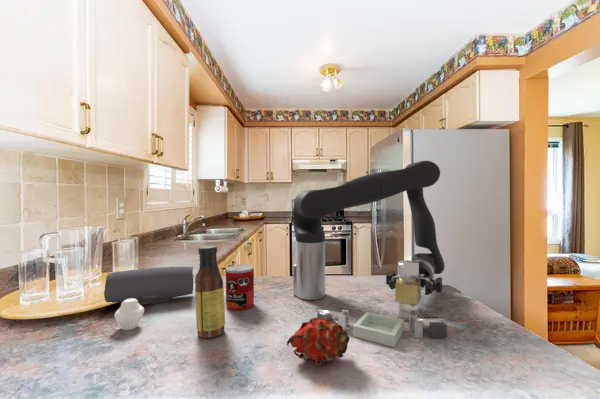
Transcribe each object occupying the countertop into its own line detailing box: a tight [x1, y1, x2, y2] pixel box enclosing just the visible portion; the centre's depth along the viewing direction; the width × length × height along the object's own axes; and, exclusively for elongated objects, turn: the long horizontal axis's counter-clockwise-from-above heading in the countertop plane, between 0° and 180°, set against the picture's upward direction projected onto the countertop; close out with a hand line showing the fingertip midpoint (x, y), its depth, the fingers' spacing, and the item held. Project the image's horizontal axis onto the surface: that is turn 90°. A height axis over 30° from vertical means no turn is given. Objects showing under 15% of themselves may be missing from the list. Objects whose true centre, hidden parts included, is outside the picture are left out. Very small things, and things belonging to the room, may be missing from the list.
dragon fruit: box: [286, 317, 351, 367], centre depth 55 cm, size 8×8×12 cm
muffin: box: [113, 298, 145, 331], centre depth 69 cm, size 6×6×7 cm
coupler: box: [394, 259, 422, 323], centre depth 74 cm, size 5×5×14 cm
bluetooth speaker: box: [103, 266, 194, 305], centre depth 87 cm, size 23×9×10 cm, turn 108°
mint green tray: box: [352, 311, 405, 348], centre depth 66 cm, size 9×9×2 cm
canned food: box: [225, 264, 255, 312], centre depth 83 cm, size 8×8×11 cm
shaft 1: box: [316, 307, 350, 332], centre depth 70 cm, size 7×4×3 cm, turn 68°
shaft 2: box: [408, 315, 448, 340], centre depth 65 cm, size 7×4×3 cm, turn 88°
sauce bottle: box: [194, 245, 226, 339], centre depth 66 cm, size 6×6×20 cm
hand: (408, 288), depth 74 cm, fingers open, 8 cm apart
